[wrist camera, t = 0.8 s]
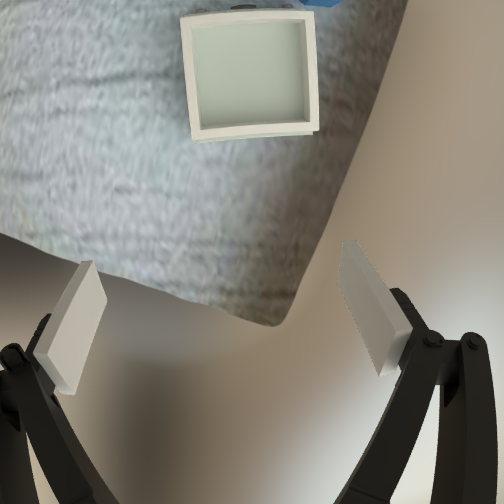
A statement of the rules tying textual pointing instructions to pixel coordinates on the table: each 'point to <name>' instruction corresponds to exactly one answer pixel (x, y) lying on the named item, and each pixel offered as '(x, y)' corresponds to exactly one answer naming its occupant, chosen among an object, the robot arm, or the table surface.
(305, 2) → the water bottle
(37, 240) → the table surface
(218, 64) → the open storage box
